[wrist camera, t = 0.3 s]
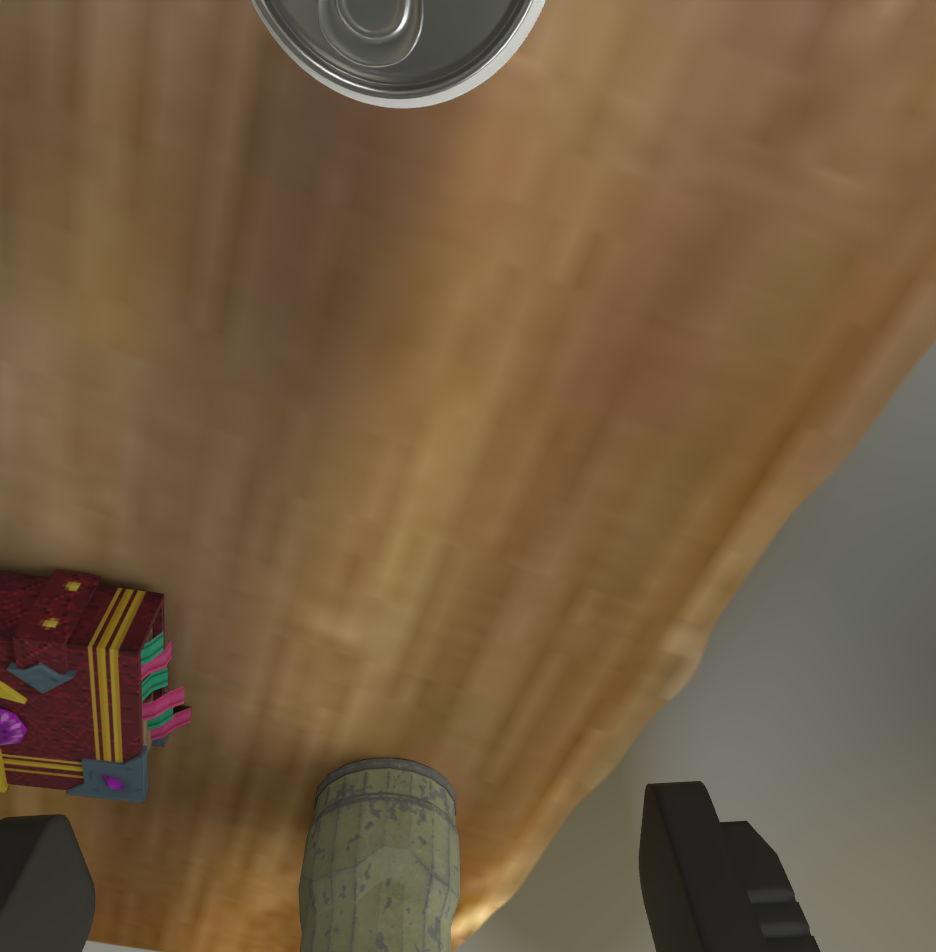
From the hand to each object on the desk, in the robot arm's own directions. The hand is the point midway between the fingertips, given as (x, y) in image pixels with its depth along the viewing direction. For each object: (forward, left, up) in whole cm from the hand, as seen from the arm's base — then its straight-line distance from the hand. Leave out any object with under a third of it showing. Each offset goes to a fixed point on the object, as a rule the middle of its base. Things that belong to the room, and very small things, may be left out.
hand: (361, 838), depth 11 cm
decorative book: (+26, -9, -23) cm, 36 cm away
